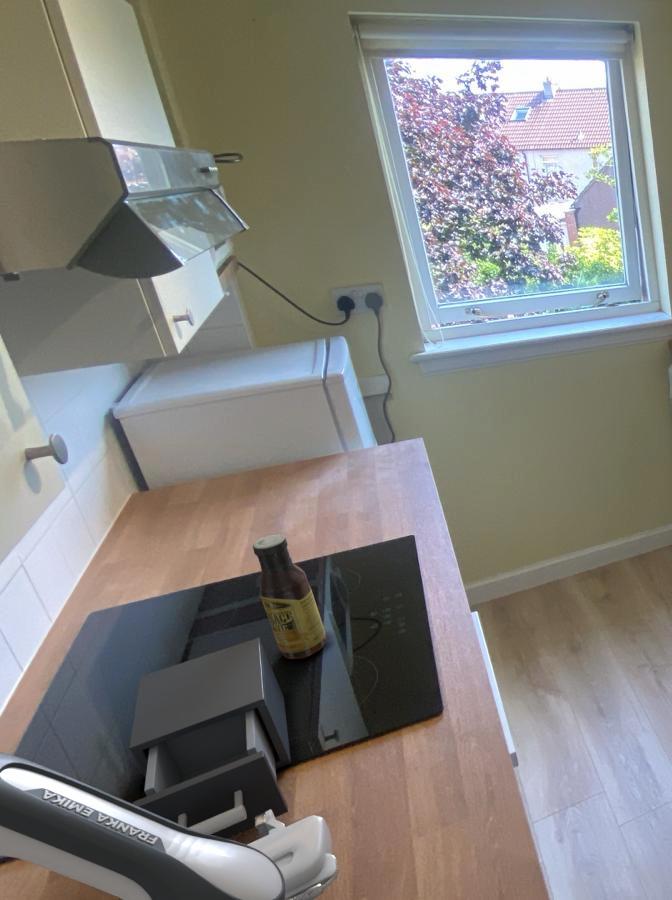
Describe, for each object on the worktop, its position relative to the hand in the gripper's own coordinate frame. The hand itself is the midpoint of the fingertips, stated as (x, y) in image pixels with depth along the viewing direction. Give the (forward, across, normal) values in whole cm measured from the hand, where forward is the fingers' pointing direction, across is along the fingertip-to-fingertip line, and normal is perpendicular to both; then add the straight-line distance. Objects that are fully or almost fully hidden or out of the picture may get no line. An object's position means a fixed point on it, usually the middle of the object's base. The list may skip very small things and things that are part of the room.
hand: (211, 840), depth 77 cm
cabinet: (+23, 0, +7) cm, 24 cm away
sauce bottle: (+41, -10, +7) cm, 43 cm away
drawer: (+11, 0, +6) cm, 12 cm away
